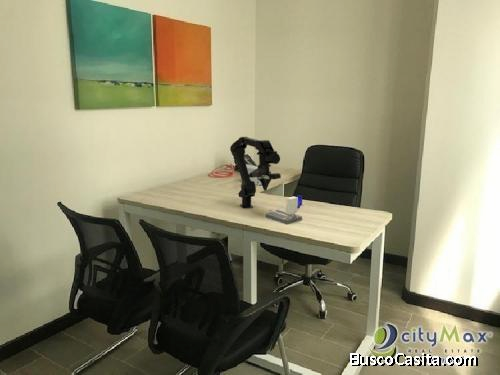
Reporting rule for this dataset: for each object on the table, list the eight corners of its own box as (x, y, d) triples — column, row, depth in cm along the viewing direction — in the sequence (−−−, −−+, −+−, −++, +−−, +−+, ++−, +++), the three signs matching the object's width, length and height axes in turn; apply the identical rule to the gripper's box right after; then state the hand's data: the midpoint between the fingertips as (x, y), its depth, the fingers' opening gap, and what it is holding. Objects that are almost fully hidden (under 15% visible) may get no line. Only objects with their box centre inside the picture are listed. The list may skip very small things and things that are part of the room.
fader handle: (285, 217, 214) (286, 198, 212) (292, 215, 218) (293, 196, 216) (289, 218, 212) (290, 199, 210) (297, 216, 216) (297, 197, 213)
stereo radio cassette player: (266, 184, 303) (266, 158, 299) (258, 186, 298) (259, 159, 293) (246, 180, 318) (246, 155, 313) (239, 181, 312) (239, 156, 307)
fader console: (265, 217, 222) (265, 211, 221) (280, 213, 229) (281, 207, 229) (286, 224, 210) (286, 218, 209) (301, 219, 218) (302, 214, 217)
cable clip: (295, 210, 237) (295, 200, 236) (288, 208, 239) (289, 199, 238) (304, 205, 247) (304, 196, 246) (297, 204, 249) (297, 195, 248)
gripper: (242, 163, 224) (243, 191, 226) (268, 165, 212) (269, 194, 214) (255, 161, 232) (256, 188, 235) (281, 163, 220) (281, 191, 222)
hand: (265, 190), depth 226 cm, fingers closed
